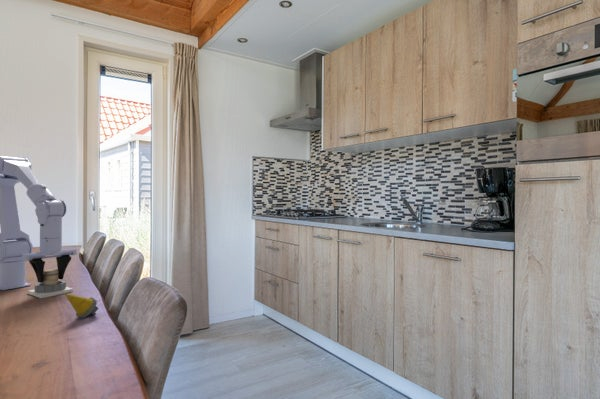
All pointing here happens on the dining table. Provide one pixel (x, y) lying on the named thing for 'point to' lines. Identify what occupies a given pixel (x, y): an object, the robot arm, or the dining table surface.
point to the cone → (82, 305)
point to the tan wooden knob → (50, 277)
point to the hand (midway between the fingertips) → (50, 280)
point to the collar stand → (50, 289)
